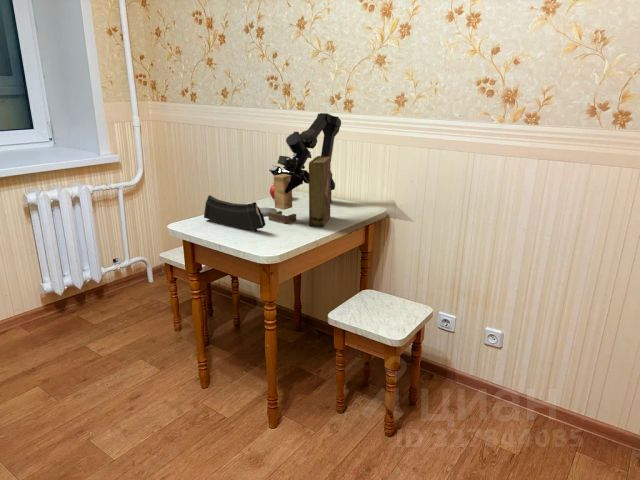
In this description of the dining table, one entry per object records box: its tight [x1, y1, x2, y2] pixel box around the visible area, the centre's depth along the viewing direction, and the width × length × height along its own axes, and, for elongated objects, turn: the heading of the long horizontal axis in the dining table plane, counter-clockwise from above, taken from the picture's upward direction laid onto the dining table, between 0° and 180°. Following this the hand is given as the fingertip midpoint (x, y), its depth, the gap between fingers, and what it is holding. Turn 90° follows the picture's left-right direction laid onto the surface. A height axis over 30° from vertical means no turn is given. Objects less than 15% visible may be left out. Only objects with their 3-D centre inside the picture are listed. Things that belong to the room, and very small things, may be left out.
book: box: [308, 155, 332, 228], centre depth 187 cm, size 16×6×25 cm, turn 168°
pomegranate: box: [269, 182, 275, 200], centre depth 227 cm, size 10×10×9 cm
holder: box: [268, 210, 297, 225], centre depth 193 cm, size 7×9×3 cm
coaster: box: [259, 207, 277, 217], centre depth 204 cm, size 11×11×1 cm
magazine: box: [203, 194, 267, 232], centre depth 185 cm, size 17×3×30 cm
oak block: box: [273, 174, 293, 211], centre depth 191 cm, size 5×5×13 cm
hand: (280, 191), depth 189 cm, fingers closed on oak block, 5 cm apart
